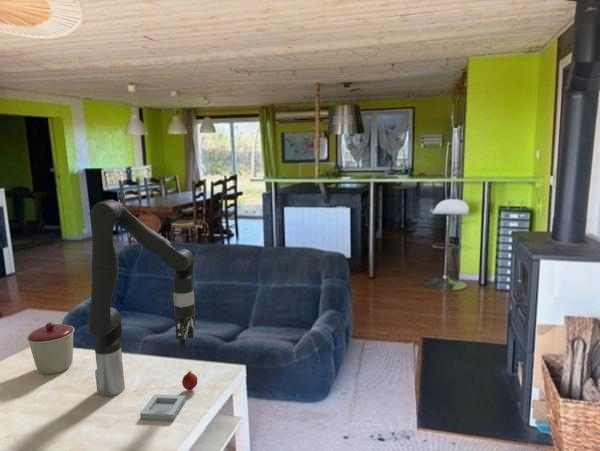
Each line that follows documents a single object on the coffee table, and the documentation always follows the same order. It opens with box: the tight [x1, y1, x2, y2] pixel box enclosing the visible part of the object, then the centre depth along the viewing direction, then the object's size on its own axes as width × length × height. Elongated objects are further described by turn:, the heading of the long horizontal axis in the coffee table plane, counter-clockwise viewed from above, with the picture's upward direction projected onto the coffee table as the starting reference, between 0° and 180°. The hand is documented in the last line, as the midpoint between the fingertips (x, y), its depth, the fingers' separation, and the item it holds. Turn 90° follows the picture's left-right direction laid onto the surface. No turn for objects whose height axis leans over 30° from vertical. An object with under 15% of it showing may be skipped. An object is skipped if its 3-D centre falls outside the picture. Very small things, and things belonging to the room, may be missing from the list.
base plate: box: [139, 394, 187, 422], centre depth 164 cm, size 12×12×2 cm
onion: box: [181, 370, 199, 391], centre depth 176 cm, size 6×6×8 cm
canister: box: [26, 321, 75, 375], centre depth 195 cm, size 18×18×21 cm
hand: (187, 342), depth 173 cm, fingers open, 8 cm apart
